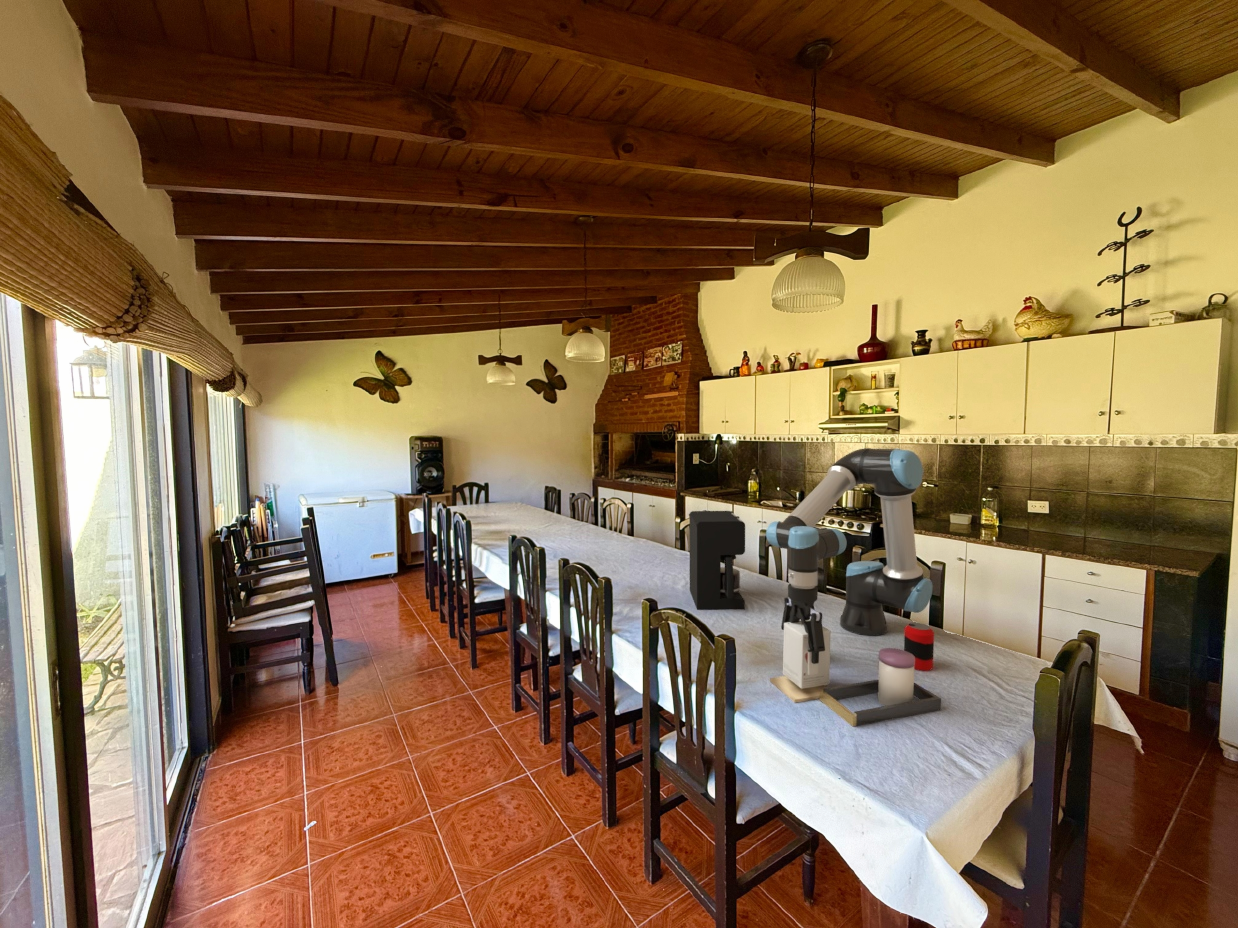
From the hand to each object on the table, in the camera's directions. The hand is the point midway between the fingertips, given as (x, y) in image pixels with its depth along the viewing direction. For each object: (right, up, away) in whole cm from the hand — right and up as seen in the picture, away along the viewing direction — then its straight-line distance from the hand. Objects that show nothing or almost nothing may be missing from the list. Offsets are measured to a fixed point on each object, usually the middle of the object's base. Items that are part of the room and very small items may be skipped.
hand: (801, 665), depth 143 cm
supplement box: (+1, -4, +1) cm, 4 cm away
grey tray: (+17, -7, -8) cm, 20 cm away
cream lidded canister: (+22, -7, -7) cm, 24 cm away
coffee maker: (-10, -1, +71) cm, 72 cm away
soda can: (+39, -5, +13) cm, 41 cm away
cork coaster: (0, -6, 0) cm, 6 cm away
